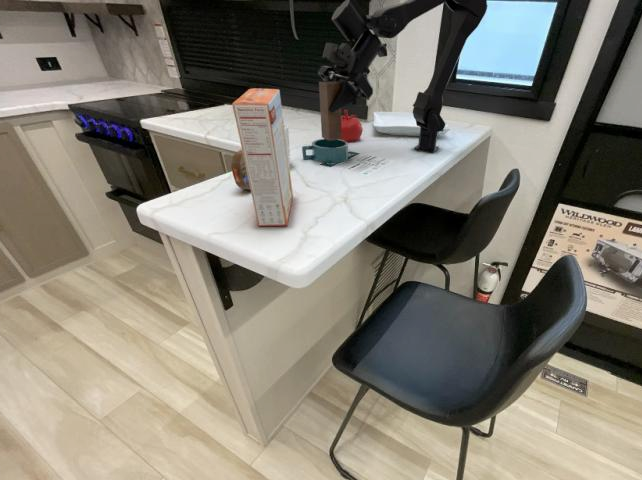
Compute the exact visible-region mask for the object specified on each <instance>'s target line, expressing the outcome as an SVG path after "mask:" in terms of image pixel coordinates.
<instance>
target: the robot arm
mask: <svg viewBox="0 0 642 480" xmlns="http://www.w3.org/2000/svg"><path fill="white" fill-rule="evenodd" d="M444 3H445V5H446V6H447V8H448V9H449V10H451V11H452V16H451V28H450V29H451V30H450V34H449V36H448V37H447V41H446V43H445V45H444V48H443V50H442V53H441V55H440V58H439V60H438V63H437V65H436V67H435V70H434V72H433V74H432V77H431V79H430V82H429V84H428V87H427V88H426V89H425V90H424V91H423V92H422V91H418V93H417V95H416V99H415V101H414V103H413V104H412V107H413V109H412V113H413V116H414V118H415V120H416V124H417V126H419V127H421V128H420V135H419V136H418V143H417V144H418V145H416V146H415V147H414V151H421V152H426V153H434V152H436V151H437V150H438V149H439V148H440V146H439V145H437V140H438V136H439V135H438V132H439V131H443V129H444V127H445V123H446V122H445V121H444V119H443V117H442V115H441V112H442V109H443V102H444V99H443V97H444V93H445V90H446V88H447V85H448V84H449V81H450V80H451V77H452V74H453V72H454V70H455V68H456V65H457V63H458V61H459V59H460V56H461V54H462V52H463V50H464V47H465V45H466V43H467V40H468V38H469V37H470V36H471V35H472V34H473V33H474V32H475V31H476V30H477V29H478V27H479V26H480V24H481V22H482V21H483V19H484V17H485V15H486V13H487V10H488V7H489V6H488V1H487V0H405V1H404V2H401V3H397V4H393V5H388V6H384V7H380V8H378V9H376V10H375V11H374V12H373V14H367V15H366V13H365V12H364V9H362V7H361V6H360V4H359V2H358V0H344V1H343V2H342V3H341V4H340V6H338V7H337V8H336V9H335V10H334V12H333V13H332V16H331V21H332V23H334V25H335V26H336V27H337V29H338V30H339V31H340V33H341V34H342V36H343V37H344V39H346V41H347V42H350V41H352V42H355V44H354V46H353V47H351V45H350V44H349V43H346V42H341V44H337V43H333V42H325V46H324V49H323V53H322V56H321V57H322V59H324V60H325V61H328V62H330V63H332V64H333V65H334V66H333V67H332V66H328V65H321V66H320V68H319V70H318V71H317V74H318V75H319V77H321V79H322V81H323V82H328V81H333V82H337V83H340V88H339V91H338V93H337V95H336V97H335V98H334V100H333V102H332V104H331V106H330V108H329V111H330V112H331V113H333V112H335V111H337V110H338V109H340V108H341V109H342V108H344V107H345V106H346V107H347V105H349V104H351V103H354V102H355V101H359V100H360V97H359V96H360V94H361V98H362V99H363V100H367V101H370V99H371V97H372V96H373V95H374V87H373V85H372V83H371V82H370V81H369V79H368V78H367V76H366V75H369V74H370V73H371V70H370V67H371V65H372V64H373V62H374V61H375V59H376V57H377V56H378V57H379V58H383V57H387V56H388V50H387V47H388V46H387V43H382V41H381V39H380V38H382V39H395V37H396V36H398V35H399V34H401V33H402V32H403V31H404V30H405V29H406V27H407V26H408V25H409V24H410V23H411V22H412V21H414V20H416V19H417V18H419V17H421V16H423V15H425V14H426V13H429V12H430V11H432V10H434V9H435V8H437V7H439V6H441V5H443V4H444ZM337 72H338V73H337Z"/></svg>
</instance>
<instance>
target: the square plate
mask: <svg viewBox="0 0 642 480" xmlns="http://www.w3.org/2000/svg"><path fill="white" fill-rule="evenodd" d="M372 114H373V123H372V124H373V125H372V126H373V127H374V128H375V130H376V131H377V132H379V133H383V134H385V135H390V136H409V137H410V136H412V137H419V135H420V128H421V127H419V126H417V124H416V120H415V118H414V116H413V112H410V111H409V112H408V111H373V113H372ZM450 130H451V128H450V127H449V126H448V124H447V123H446V122H445V127H444V129H443V131H439V132H438V136H443V135H445V134H447V133H448V132H449V131H450Z"/></svg>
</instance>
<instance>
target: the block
mask: <svg viewBox="0 0 642 480" xmlns="http://www.w3.org/2000/svg"><path fill="white" fill-rule="evenodd" d="M339 88H340V83H337V82H333V81H328V82H325V81H318V92H319V107H320V108H319V110H320V128H321V129H320V130H321V139H327V140H329V141H331V140H337V139H342V136H341V118H342V117H341V115H342V108H340V109H338V110H337V111H335V112H333V113H331V112H330V111H329V108H330V106H331V104H332V102H333V100H334V98H335V97H336V95H337V93H338V91H339Z"/></svg>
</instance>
